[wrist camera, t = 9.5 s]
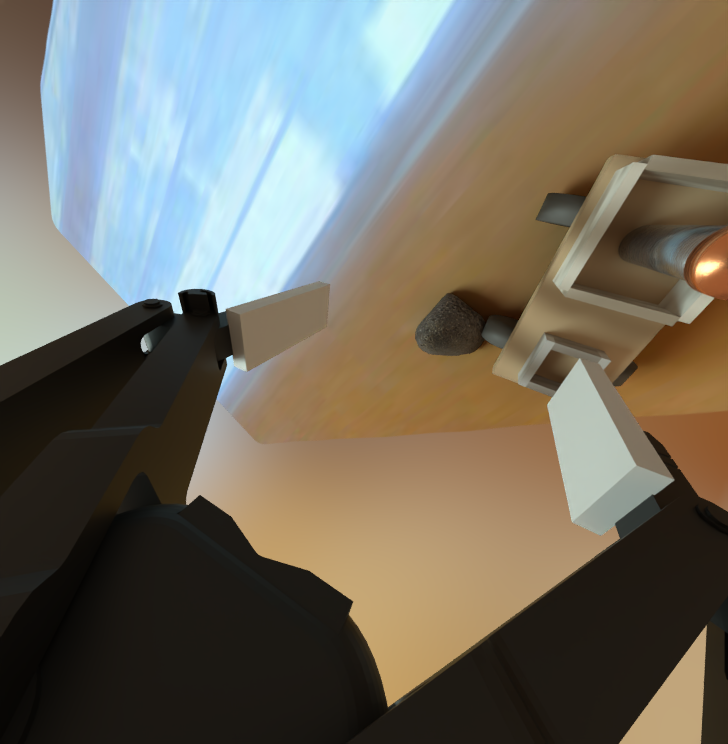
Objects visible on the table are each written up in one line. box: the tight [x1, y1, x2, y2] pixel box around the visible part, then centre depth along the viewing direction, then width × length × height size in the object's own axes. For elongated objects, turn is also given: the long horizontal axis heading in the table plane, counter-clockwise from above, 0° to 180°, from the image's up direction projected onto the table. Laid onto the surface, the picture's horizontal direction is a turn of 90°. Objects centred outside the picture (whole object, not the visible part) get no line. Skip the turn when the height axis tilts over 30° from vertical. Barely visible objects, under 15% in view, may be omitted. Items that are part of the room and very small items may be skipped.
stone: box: [415, 293, 485, 356], centre depth 39 cm, size 10×8×10 cm
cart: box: [481, 154, 728, 397], centre depth 27 cm, size 22×17×12 cm
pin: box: [618, 225, 728, 300], centre depth 18 cm, size 4×4×13 cm
